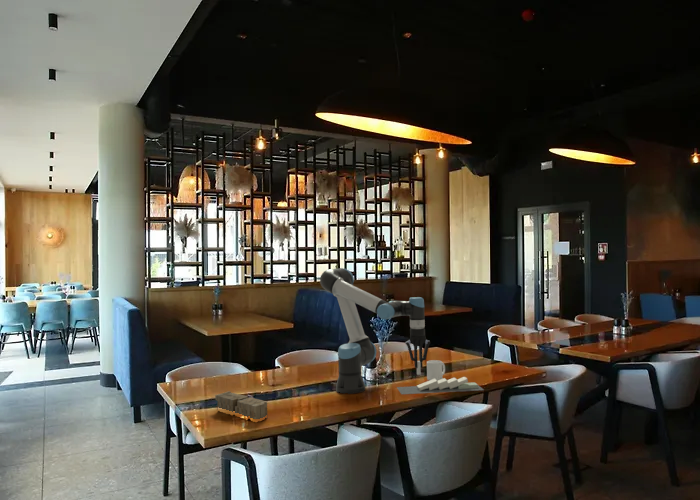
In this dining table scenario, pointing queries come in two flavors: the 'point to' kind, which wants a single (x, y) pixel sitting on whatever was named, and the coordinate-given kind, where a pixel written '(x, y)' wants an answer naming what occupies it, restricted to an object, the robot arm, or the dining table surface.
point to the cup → (435, 370)
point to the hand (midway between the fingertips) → (418, 374)
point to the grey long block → (242, 404)
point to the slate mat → (416, 391)
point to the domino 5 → (467, 385)
